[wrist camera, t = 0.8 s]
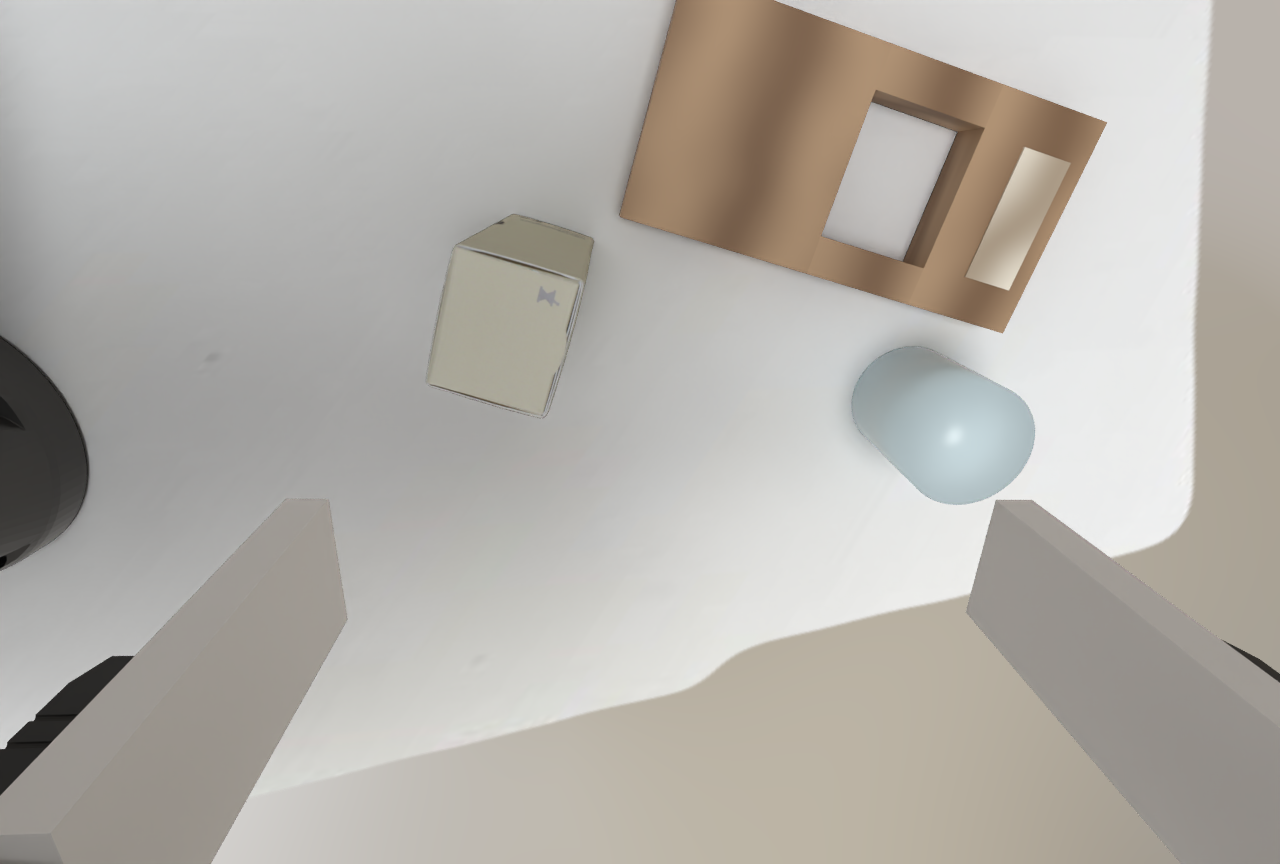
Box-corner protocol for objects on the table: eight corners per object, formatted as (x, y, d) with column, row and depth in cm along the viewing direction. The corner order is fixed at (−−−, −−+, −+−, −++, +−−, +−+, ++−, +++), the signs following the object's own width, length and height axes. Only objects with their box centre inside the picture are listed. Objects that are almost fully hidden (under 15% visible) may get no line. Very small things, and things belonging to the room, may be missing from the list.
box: (511, 210, 31) (450, 228, 19) (597, 238, 32) (590, 272, 20) (487, 313, 33) (418, 388, 21) (569, 338, 34) (547, 424, 22)
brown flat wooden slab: (619, 214, 32) (620, 217, 29) (680, -15, 28) (686, -33, 26) (977, 323, 35) (1003, 333, 32) (1071, 126, 31) (1108, 122, 29)
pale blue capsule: (835, 433, 37) (884, 488, 30) (877, 333, 35) (939, 368, 28) (929, 459, 37) (997, 517, 31) (976, 362, 35) (1058, 402, 29)
